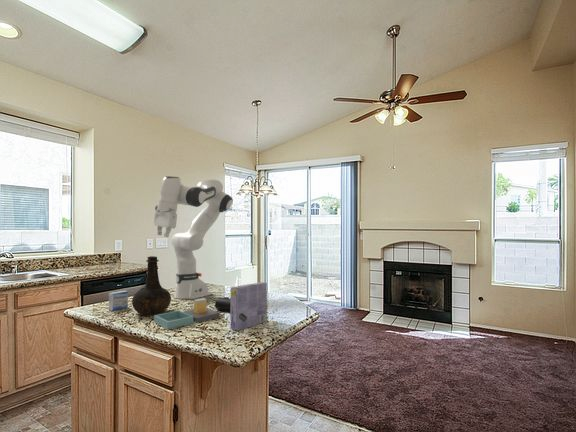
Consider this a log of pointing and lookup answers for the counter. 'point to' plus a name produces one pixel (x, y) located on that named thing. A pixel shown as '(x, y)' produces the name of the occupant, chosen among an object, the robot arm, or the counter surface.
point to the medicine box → (118, 300)
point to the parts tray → (173, 319)
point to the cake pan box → (248, 305)
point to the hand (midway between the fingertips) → (162, 236)
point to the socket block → (203, 315)
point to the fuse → (200, 306)
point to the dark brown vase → (151, 292)
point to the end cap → (223, 304)
